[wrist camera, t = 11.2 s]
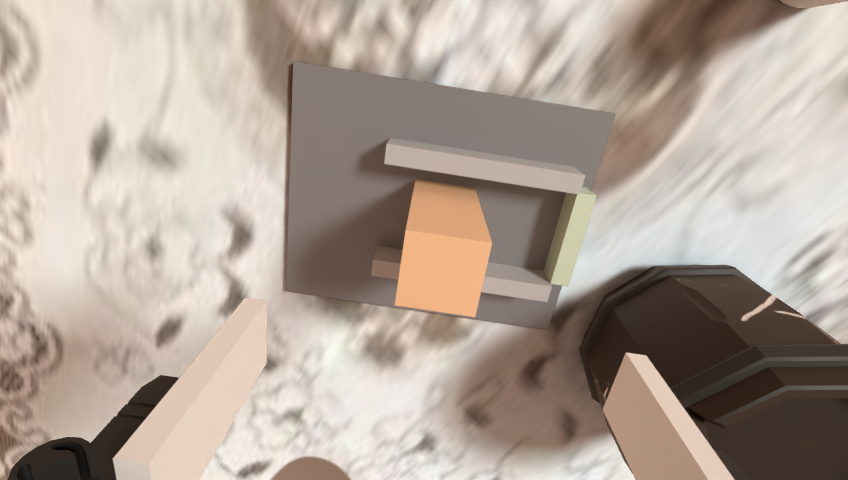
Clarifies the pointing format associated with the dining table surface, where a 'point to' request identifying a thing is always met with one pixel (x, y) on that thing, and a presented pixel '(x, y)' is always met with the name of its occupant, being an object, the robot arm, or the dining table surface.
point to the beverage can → (810, 3)
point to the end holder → (443, 163)
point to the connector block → (443, 250)
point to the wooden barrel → (731, 367)
